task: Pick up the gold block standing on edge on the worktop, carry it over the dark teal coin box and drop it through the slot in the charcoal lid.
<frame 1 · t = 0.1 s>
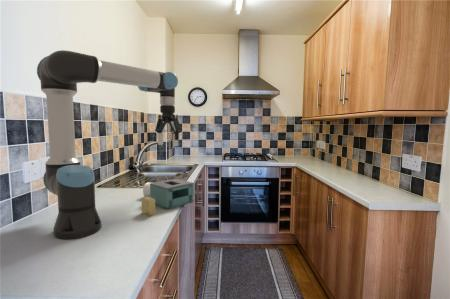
hand: (167, 145, 136), 28 cm above the countertop, fingers open, 13 cm apart
coin box: (172, 202, 128), on the countertop
mug: (157, 196, 138), on the countertop
gold block: (148, 214, 111), on the countertop
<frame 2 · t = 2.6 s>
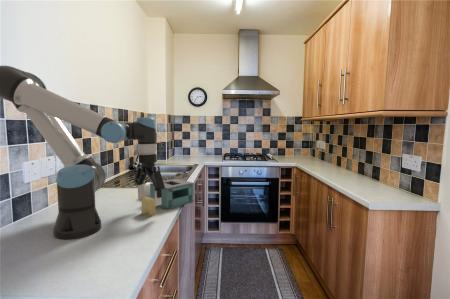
hand: (149, 201, 111), 5 cm above the countertop, fingers open, 13 cm apart
nothing on the countertop moved.
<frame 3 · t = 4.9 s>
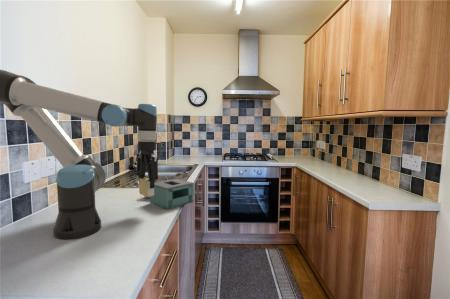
hand: (146, 193, 110), 9 cm above the countertop, fingers closed on gold block, 6 cm apart
gold block: (146, 194, 110), point 9 cm above the countertop, touching gripper
everything else where it was.
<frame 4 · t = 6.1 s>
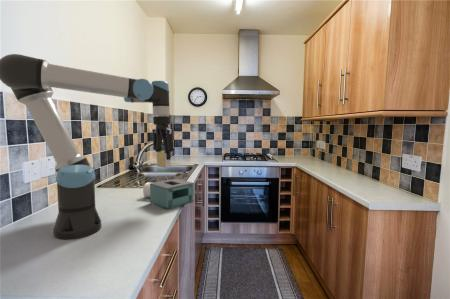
hand: (163, 165, 118), 20 cm above the countertop, fingers closed on gold block, 6 cm apart
gold block: (164, 166, 118), point 20 cm above the countertop, touching gripper
everything else where it was.
when the fingers open (11 cm above the countertop, at t = 7.7 s): gold block drops 9 cm, resting on coin box.
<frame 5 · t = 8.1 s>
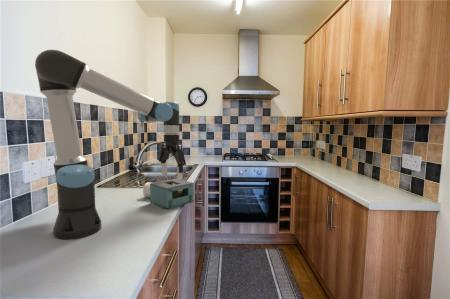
hand: (171, 177, 126), 13 cm above the countertop, fingers open, 12 cm apart
gold block: (172, 198, 127), point 2 cm above the countertop, tilted 20°, touching coin box
everything else where it was.
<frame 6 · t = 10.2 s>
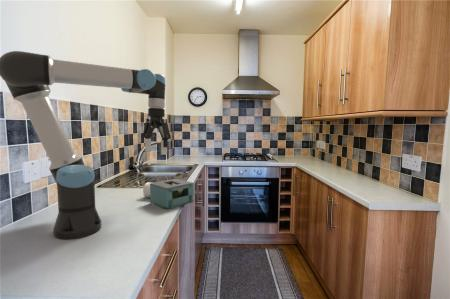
hand: (155, 153, 121), 25 cm above the countertop, fingers open, 13 cm apart
nothing on the countertop moved.
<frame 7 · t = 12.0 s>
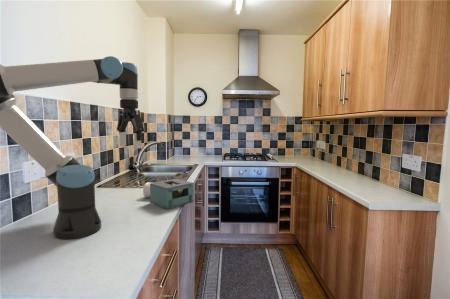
hand: (130, 147, 114), 29 cm above the countertop, fingers open, 13 cm apart
nothing on the countertop moved.
at the end: gold block inside the target area on the coin box (0.4 cm from its centre), point 2.0 cm above the coin box's base; the gripper is holding nothing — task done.
